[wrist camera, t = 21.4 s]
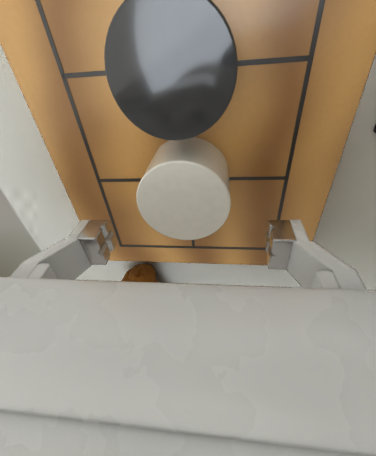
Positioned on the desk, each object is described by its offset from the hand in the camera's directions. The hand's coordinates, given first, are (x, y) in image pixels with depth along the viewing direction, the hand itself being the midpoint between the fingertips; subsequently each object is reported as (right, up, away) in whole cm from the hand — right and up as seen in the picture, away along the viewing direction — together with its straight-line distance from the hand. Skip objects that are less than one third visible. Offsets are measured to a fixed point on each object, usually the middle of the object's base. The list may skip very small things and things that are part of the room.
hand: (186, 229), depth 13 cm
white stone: (0, +3, +1) cm, 3 cm away
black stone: (0, +7, -2) cm, 8 cm away
